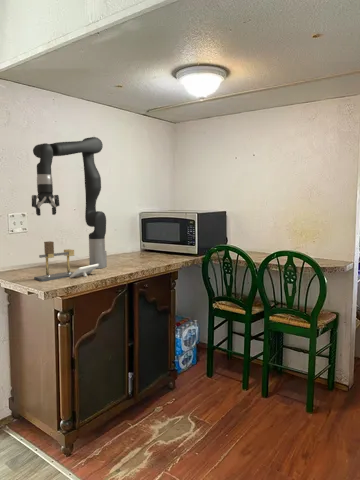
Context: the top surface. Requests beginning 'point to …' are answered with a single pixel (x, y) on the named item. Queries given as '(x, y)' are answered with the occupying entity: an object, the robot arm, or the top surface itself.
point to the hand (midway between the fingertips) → (46, 215)
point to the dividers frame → (66, 253)
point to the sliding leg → (48, 253)
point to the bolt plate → (53, 276)
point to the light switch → (84, 270)
